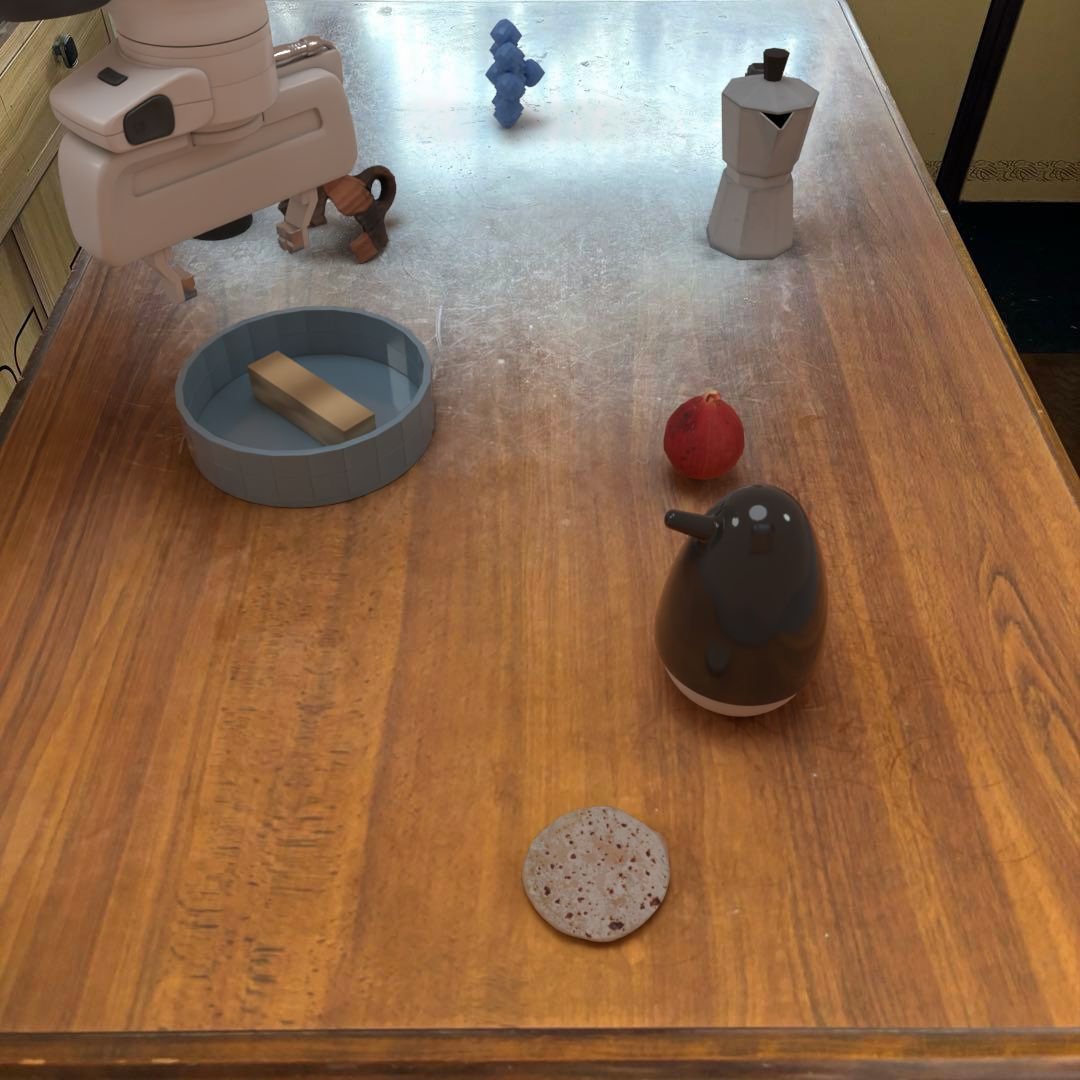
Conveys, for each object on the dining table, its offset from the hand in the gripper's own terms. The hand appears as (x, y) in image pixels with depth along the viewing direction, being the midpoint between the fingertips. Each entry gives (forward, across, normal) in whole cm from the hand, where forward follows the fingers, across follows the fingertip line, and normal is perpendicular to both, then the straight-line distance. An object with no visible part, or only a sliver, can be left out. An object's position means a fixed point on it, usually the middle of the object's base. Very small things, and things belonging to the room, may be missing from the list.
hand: (240, 272), depth 77 cm
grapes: (+14, -54, -26) cm, 61 cm away
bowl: (+14, -3, +2) cm, 15 cm away
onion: (+14, -19, +28) cm, 36 cm away
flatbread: (+14, +11, +44) cm, 47 cm away
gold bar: (+14, -3, +2) cm, 14 cm away
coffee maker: (+14, -52, +8) cm, 54 cm away
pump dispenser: (+14, -5, +40) cm, 43 cm away
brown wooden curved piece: (+14, -24, -19) cm, 34 cm away
